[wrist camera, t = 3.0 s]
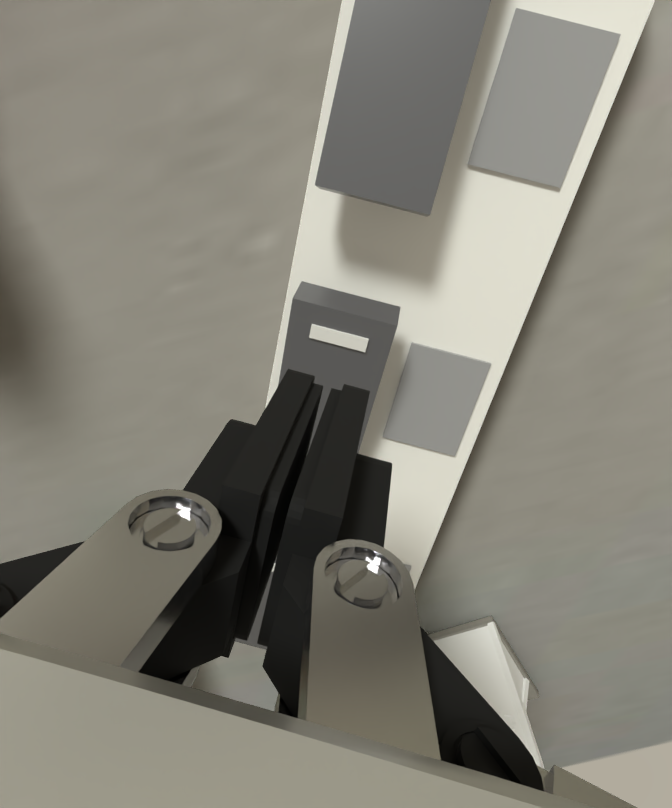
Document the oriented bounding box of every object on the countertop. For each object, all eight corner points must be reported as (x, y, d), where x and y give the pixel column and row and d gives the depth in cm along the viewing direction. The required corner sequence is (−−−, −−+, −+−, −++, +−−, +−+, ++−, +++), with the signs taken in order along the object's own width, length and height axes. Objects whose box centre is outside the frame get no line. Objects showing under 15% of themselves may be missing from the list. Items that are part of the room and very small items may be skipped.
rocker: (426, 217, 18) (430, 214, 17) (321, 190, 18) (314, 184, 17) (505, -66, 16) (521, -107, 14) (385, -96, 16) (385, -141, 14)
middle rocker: (353, 458, 25) (347, 490, 23) (276, 438, 25) (264, 468, 23) (401, 300, 20) (397, 327, 18) (304, 275, 20) (291, 299, 18)
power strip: (385, 619, 33) (381, 672, 30) (241, 580, 33) (223, 629, 30) (648, -62, 18) (698, -104, 15) (383, -129, 18) (375, -184, 15)
